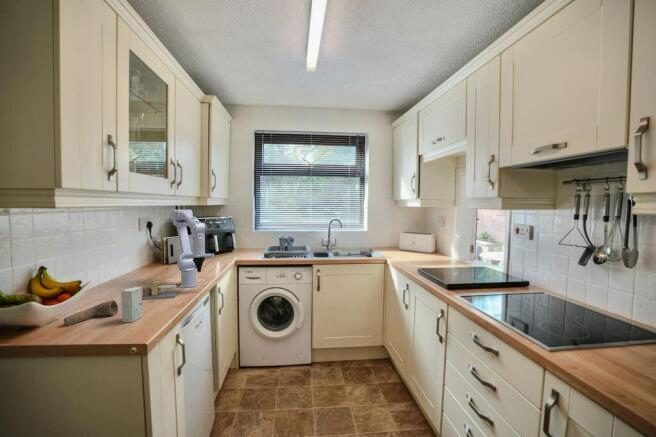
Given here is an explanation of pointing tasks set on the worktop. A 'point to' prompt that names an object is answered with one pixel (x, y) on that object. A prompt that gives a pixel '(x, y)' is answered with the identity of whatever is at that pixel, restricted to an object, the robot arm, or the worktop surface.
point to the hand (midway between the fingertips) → (199, 271)
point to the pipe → (93, 312)
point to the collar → (156, 287)
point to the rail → (164, 294)
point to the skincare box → (131, 304)
